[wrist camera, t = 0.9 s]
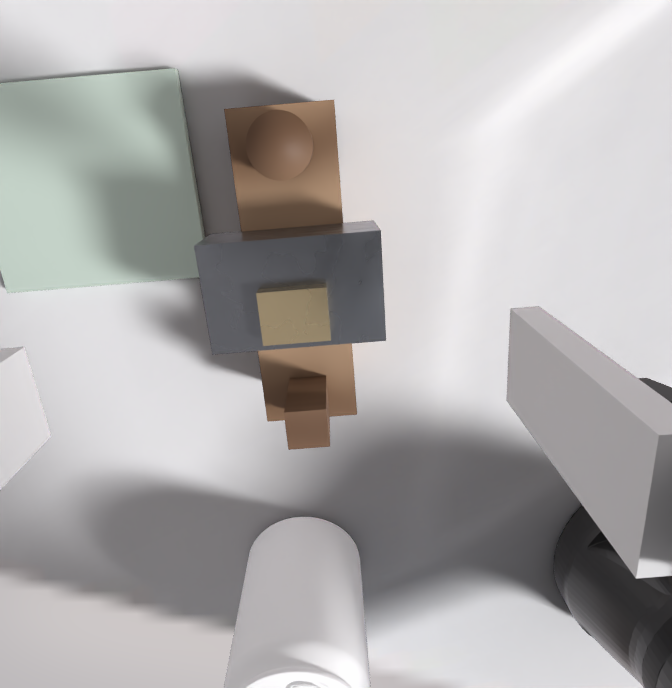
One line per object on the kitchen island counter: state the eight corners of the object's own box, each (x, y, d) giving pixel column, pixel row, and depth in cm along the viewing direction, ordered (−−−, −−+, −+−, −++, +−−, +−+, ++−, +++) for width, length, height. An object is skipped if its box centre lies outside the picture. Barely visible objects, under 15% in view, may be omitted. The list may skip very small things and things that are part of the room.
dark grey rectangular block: (378, 318, 27) (388, 346, 23) (226, 330, 27) (208, 361, 23) (373, 220, 26) (382, 232, 22) (210, 234, 26) (189, 248, 22)
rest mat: (211, 274, 31) (208, 276, 31) (12, 290, 32) (7, 293, 31) (177, 69, 28) (174, 68, 27) (-48, 89, 28) (-55, 87, 27)
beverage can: (235, 581, 39) (199, 752, 28) (270, 496, 37) (246, 647, 26) (335, 610, 41) (339, 785, 29) (376, 529, 38) (397, 688, 27)
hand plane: (352, 378, 34) (361, 453, 25) (275, 384, 34) (259, 461, 25) (332, 108, 28) (335, 89, 20) (240, 116, 28) (205, 100, 20)
